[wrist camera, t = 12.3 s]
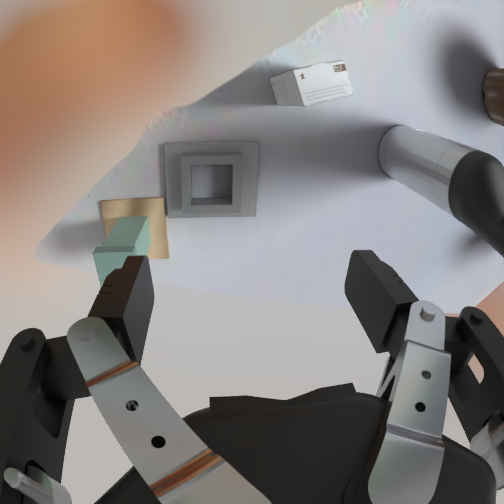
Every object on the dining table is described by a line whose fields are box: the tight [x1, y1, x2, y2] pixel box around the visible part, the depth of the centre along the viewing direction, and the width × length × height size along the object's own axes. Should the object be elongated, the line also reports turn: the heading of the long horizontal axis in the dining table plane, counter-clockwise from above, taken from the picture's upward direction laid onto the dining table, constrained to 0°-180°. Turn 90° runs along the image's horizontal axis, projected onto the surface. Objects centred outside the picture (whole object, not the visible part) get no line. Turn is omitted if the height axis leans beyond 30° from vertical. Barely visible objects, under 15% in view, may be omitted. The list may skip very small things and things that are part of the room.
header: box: [164, 142, 259, 218], centre depth 41 cm, size 13×11×3 cm
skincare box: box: [270, 60, 353, 107], centre depth 31 cm, size 6×4×12 cm
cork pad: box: [100, 197, 169, 259], centre depth 44 cm, size 10×10×1 cm
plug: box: [93, 216, 151, 287], centre depth 39 cm, size 5×5×12 cm
